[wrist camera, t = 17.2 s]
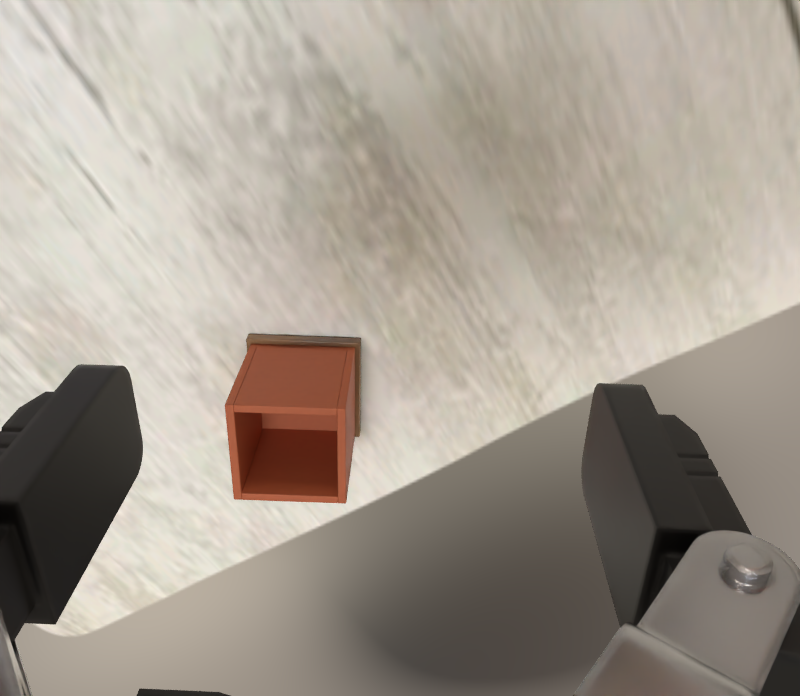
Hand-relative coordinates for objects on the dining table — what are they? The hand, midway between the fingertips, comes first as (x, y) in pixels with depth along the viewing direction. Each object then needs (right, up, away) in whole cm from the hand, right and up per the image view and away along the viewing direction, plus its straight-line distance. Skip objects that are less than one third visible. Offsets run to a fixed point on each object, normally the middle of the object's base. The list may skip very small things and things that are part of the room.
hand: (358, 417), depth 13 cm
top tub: (-4, -1, +27) cm, 28 cm away
